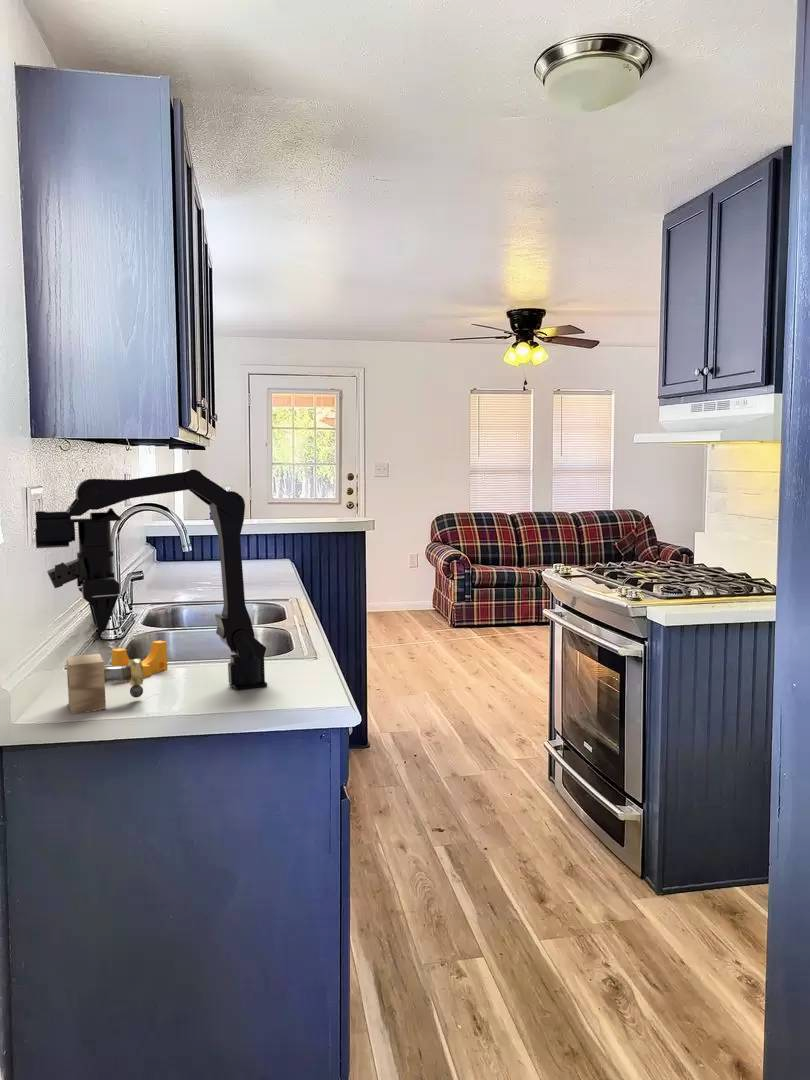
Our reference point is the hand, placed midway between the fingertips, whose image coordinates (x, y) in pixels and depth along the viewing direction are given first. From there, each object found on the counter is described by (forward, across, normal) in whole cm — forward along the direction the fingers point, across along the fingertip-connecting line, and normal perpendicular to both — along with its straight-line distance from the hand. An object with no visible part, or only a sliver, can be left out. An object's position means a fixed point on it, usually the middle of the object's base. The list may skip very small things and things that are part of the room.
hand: (99, 627), depth 158 cm
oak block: (+14, +1, -3) cm, 15 cm away
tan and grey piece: (+14, +1, +2) cm, 14 cm away
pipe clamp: (+15, -20, +10) cm, 27 cm away
